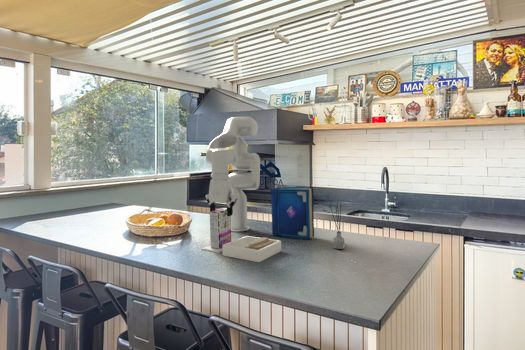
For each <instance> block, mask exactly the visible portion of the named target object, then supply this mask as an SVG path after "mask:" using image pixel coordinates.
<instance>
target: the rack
mask: <svg viewBox="0 0 525 350" xmlns="http://www.w3.org/2000/svg"><path fill="white" fill-rule="evenodd" d="M261 238H262V237H257V236H251V235H250V236H249V235H245V236H243V237H239V238H237V239H233V240H231V242H229V243H226V244H223V252H222V256H223V257H230V258H235V259H240V260H245V261H251V262H256V263H260V262H262V261H265V260H267V259H268V258H270V257H272V256H274V255H276V254H278V253H280V252H282V240H279V239H272V238H269V240H271V241H274V243H272V244H270V245H268V246H266V247H264V248H261V249H259V250H255V249H249V248H248V243H251V242H253V241H256V240H258V239H261Z"/></svg>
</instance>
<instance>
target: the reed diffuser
mask: <svg viewBox="0 0 525 350" xmlns="http://www.w3.org/2000/svg"><path fill="white" fill-rule="evenodd" d="M336 205H337V206H336V207H335V212H336V215H335V216H337V218H335V216H334V213H333V210H332V206H331V205H329V207H330V211H331V214H332V217H333V220H334V223H335V226H336V230H337V232H336V235H335V237H333V241H332V242H333V243H332V245H333V248H334V249H338V250H343V249H344V248H345V246H346V242H345V239H344V237H342V232H341V223H339V220H340V219H341V215H342V213H341V211H342V209H341V208H342V203H340V206H339V204H336ZM339 207H340V208H339ZM338 209H339V211H338Z"/></svg>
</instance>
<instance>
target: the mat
mask: <svg viewBox="0 0 525 350" xmlns="http://www.w3.org/2000/svg"><path fill="white" fill-rule="evenodd" d="M201 251H207V252H210V253H211V252H212V253H217V254H220V253H223V247H222V248H220V249H217V248H211V244H209V245H207V246H203V247H201Z"/></svg>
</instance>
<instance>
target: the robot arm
mask: <svg viewBox="0 0 525 350" xmlns="http://www.w3.org/2000/svg"><path fill="white" fill-rule="evenodd" d="M258 131H259V125H258V122H257V121H256V120H255V119H254V118H253V117H250V116H232V117H230V118H228V119H227V120H226V123H225V125H224V128H223V131H222V133H221V134H220V135H218V136H216V137H215V138H213V140H211V141H210V142H209V145H208V146H207V149H206V153H205V160H206V162H207V163H208V164H209V165H211V174H210V177H211V179H210V182H209V187H208V189H209V190H208V193H207V194H205V198H206V202H207V203H208V206H209V213H210V212H211V211H214V210H217V209H216V203H218V204H219V203H220V204H226V206H227V207H226V208H227V216H231V232H234V233H235V232H236V233H237V232H245V231H249V230H250V229H251V227H250V226H249V225H248V209H247V208H248V206H247V205H248V197H247V195H246V194H245V192H244V191H246V190H249V191H252V190H253V191H254V190H258V189H259V187H260V181H261V180H260V178H261V177H260V176H261V158H260V156H259V154H258V153H256V152H255V153H254V152H251V153H250V152H248V144H247V141H245V139H244V138H243V137H255V136H256V135H257V134H258ZM230 165H231V169H233V170H235V172H231V173H230V172H229V171H230V167H229V166H230ZM236 171H237V172H236ZM239 171H240V172H239ZM245 171H247V172H245ZM248 171H251V172H248ZM243 190H244V191H243Z"/></svg>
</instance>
